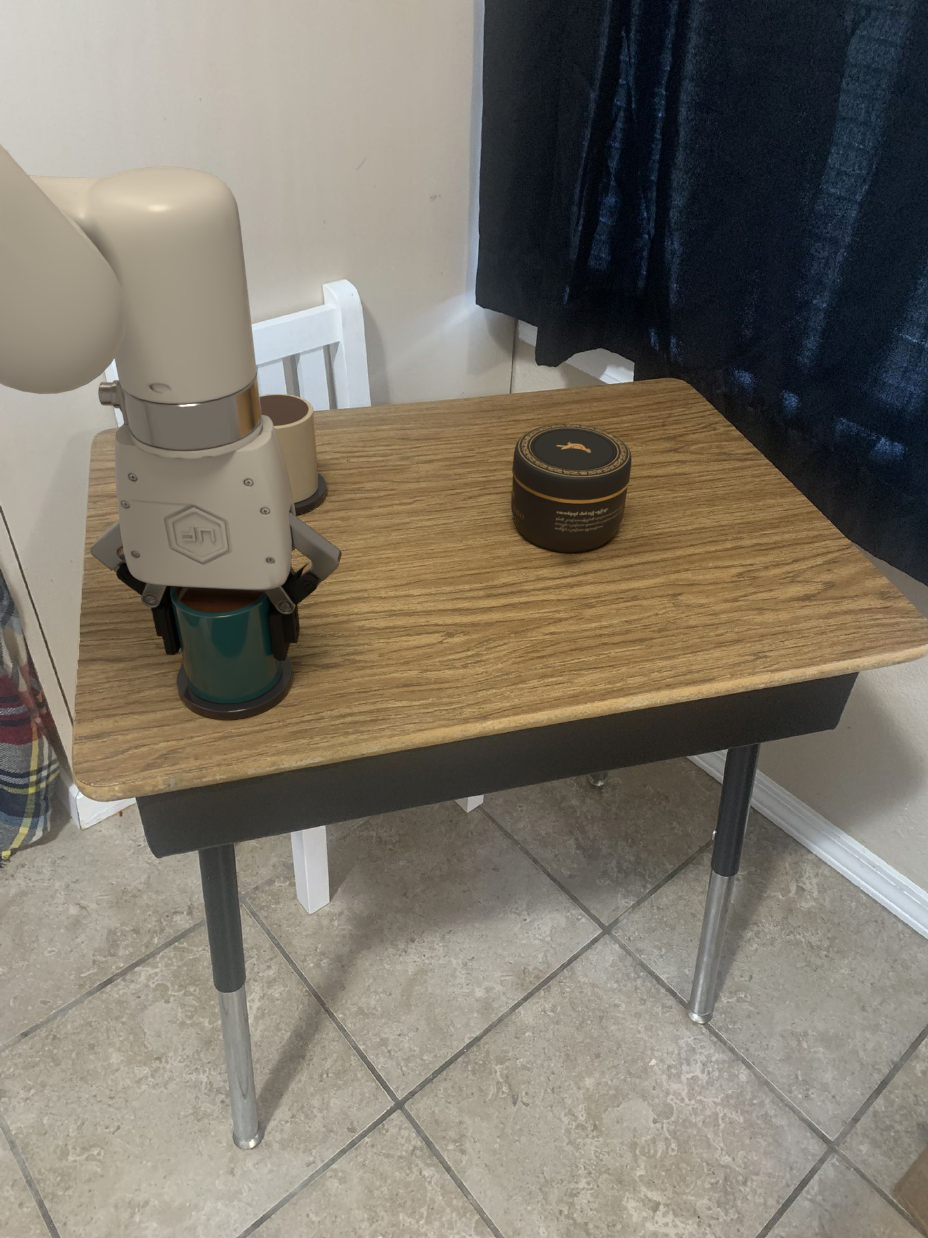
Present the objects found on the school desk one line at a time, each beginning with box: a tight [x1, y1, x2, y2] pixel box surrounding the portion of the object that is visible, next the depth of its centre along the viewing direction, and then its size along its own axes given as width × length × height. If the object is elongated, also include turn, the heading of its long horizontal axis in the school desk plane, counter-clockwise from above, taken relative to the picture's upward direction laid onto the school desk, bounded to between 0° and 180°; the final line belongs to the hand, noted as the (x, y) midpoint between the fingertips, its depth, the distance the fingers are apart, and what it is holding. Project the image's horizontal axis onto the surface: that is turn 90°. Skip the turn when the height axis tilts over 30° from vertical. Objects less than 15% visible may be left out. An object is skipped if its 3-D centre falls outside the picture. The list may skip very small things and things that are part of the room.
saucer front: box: [175, 654, 294, 721], centre depth 69 cm, size 8×8×1 cm
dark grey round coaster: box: [294, 472, 328, 516], centre depth 89 cm, size 8×8×1 cm
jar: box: [510, 423, 632, 553], centre depth 84 cm, size 10×10×8 cm
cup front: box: [170, 586, 282, 704], centre depth 67 cm, size 9×7×8 cm
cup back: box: [259, 393, 319, 503], centre depth 87 cm, size 9×7×8 cm
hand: (230, 643), depth 67 cm, fingers closed on cup front, 6 cm apart
